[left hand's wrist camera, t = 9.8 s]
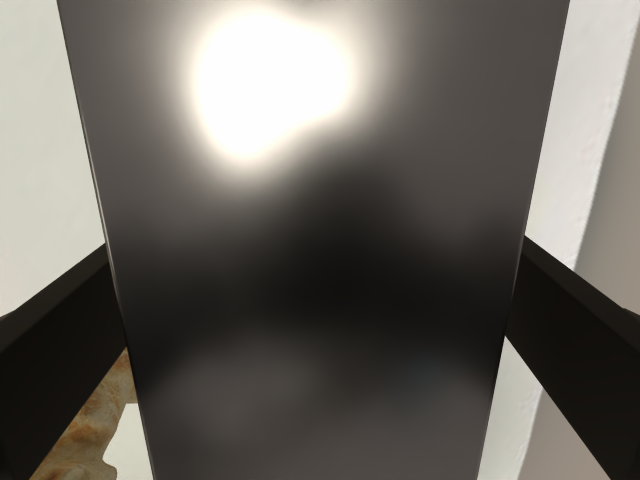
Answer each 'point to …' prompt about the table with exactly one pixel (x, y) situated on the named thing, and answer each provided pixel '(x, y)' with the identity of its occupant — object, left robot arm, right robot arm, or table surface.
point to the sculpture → (92, 430)
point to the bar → (314, 221)
